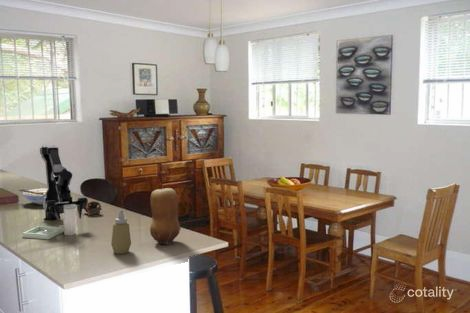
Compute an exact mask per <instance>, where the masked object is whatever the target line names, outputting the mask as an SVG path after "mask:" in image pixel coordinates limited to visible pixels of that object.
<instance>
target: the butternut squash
mask: <svg viewBox="0 0 470 313" xmlns="http://www.w3.org/2000/svg"><path fill="white" fill-rule="evenodd" d="M178 203H179V202H178V194H177V191H176V190H175V189H174V188H170V187H169V188H166V187H165V188H159V189H158V188H157V189H155V190H153V191H152V192H151V194H150V210H151V214H152V217H151V223H150V228H149V232H150V233H149V234H150V236H151V237H152V238H153V239H154V241H155V242H157V243H159V244H161V243H163V244H164V243H165V245H167V244H166V243H170V244H171V243H172V242H173V241H174V240H175V239H176V238H177V237H178V235H179V234H180V231H181V229H182V227H181V224H180V221H179V218H178V217H179V214H178V212H179V204H178Z"/></svg>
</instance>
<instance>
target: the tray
mask: <svg viewBox="0 0 470 313" xmlns="http://www.w3.org/2000/svg"><path fill="white" fill-rule="evenodd" d="M44 230H48V231H49V232H50V233H49V234H42V233H43V231H44ZM62 233H64V226H63V227H62V226H61V227H60V226H46V225H38V226H35V227H33V228H31V229H28V230H27V231H24V232H22V238H28V239H38V240H39V239H41V240H50V239H51V238H52V239H53V237H56V236H58V235H60V234H62Z"/></svg>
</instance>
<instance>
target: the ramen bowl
mask: <svg viewBox="0 0 470 313" xmlns="http://www.w3.org/2000/svg"><path fill="white" fill-rule="evenodd" d="M18 190H19V191H18V192H23V196H24V198H25V199H26V200H28V201H29V202H31V203H33V204H36V205H40V206H41V205H42V206H43V200H44V197H45V193H46V191H47V190H48V189H47V188H35V189H34V188H33V189H28V190H26V189H18Z"/></svg>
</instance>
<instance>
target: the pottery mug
mask: <svg viewBox="0 0 470 313" xmlns="http://www.w3.org/2000/svg"><path fill="white" fill-rule="evenodd" d="M83 210H84V211H85V213H86V215H87V216H91V215H94V214H97V213H100V212H101V211H102V210H103V209H102V205H101V203H100V202H99V201H97V200H96V201H95V200H91V201H88V203H87V206H86V207H85V208H84V209H83Z"/></svg>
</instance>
